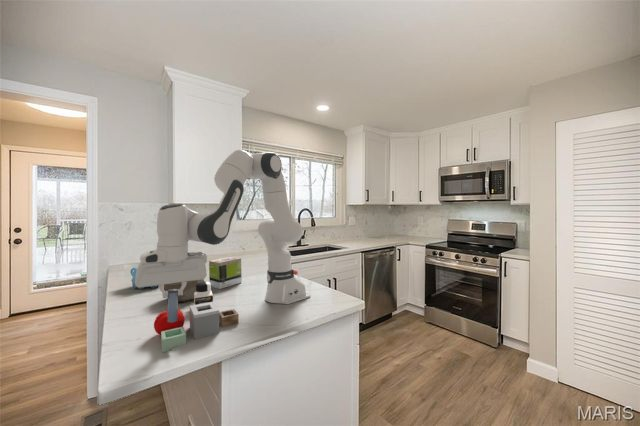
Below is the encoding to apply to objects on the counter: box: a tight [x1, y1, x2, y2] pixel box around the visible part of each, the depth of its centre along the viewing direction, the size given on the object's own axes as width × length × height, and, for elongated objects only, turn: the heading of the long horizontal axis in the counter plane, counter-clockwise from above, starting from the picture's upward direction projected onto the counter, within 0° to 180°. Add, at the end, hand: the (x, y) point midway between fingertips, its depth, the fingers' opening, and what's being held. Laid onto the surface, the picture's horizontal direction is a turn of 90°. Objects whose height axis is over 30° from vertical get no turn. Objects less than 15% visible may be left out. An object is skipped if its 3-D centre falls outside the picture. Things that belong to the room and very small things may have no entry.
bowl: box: [163, 279, 205, 303], centre depth 131 cm, size 17×18×10 cm
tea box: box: [208, 256, 242, 290], centre depth 155 cm, size 15×10×15 cm
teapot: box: [129, 266, 159, 290], centre depth 151 cm, size 18×16×14 cm
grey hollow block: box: [189, 301, 220, 340], centre depth 96 cm, size 8×10×9 cm
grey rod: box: [167, 289, 179, 323], centre depth 87 cm, size 3×3×10 cm
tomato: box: [153, 309, 186, 337], centre depth 96 cm, size 9×10×8 cm
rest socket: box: [160, 326, 187, 353], centre depth 88 cm, size 7×7×4 cm
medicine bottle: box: [193, 280, 214, 305], centre depth 117 cm, size 7×7×12 cm
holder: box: [219, 308, 240, 328], centre depth 103 cm, size 6×6×4 cm
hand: (172, 296), depth 87 cm, fingers closed on grey rod, 3 cm apart
